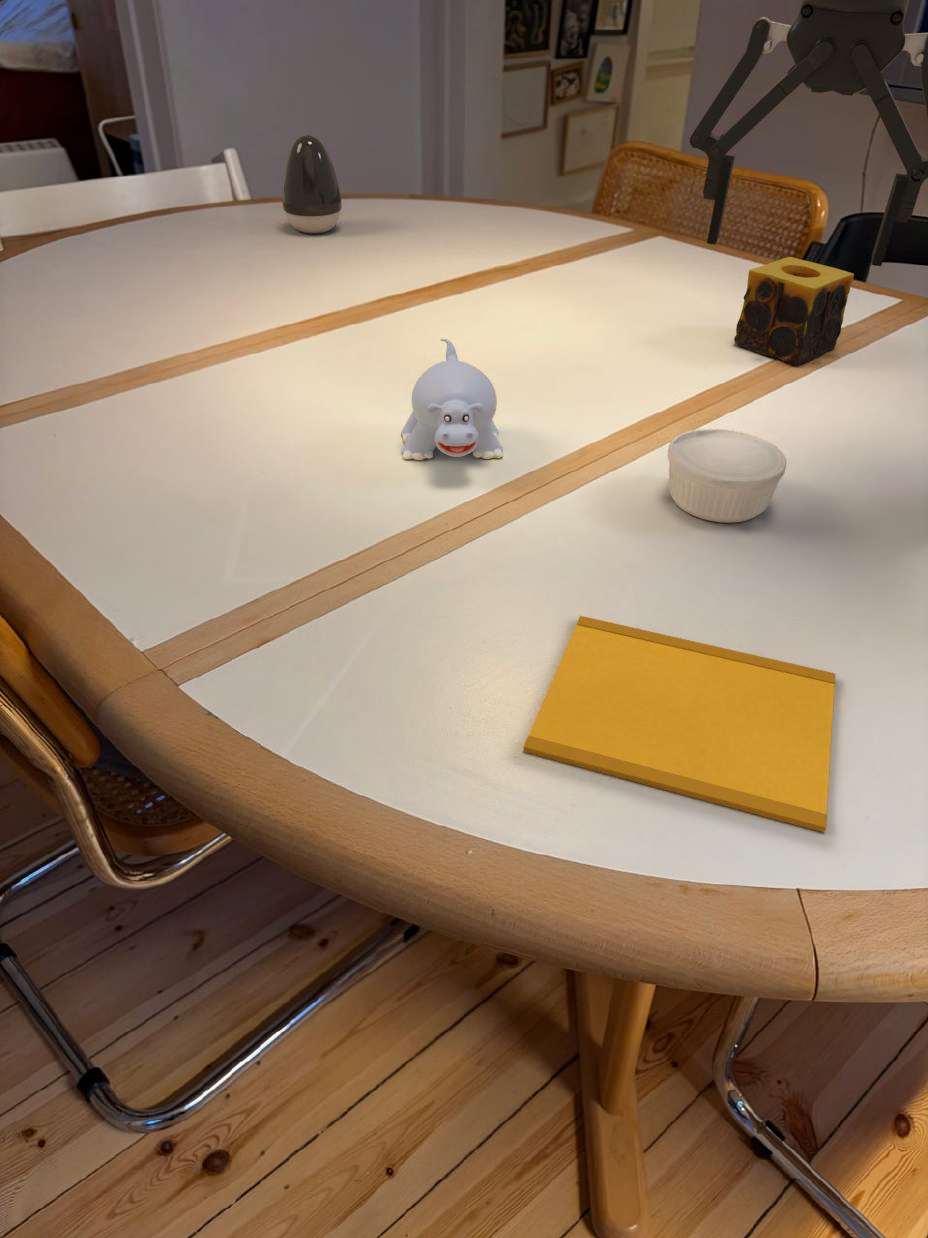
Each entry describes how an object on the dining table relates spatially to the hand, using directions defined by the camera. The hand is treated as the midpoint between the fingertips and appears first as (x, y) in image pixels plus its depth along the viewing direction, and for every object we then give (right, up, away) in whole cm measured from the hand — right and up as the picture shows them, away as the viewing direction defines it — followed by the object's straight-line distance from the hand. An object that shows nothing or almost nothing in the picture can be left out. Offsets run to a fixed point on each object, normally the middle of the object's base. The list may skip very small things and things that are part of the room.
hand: (792, 250), depth 80 cm
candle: (+15, +5, +46) cm, 48 cm away
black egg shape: (-55, +37, +86) cm, 108 cm away
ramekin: (-3, -20, +13) cm, 24 cm away
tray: (-12, -38, -12) cm, 42 cm away
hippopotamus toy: (-29, -14, +20) cm, 38 cm away
